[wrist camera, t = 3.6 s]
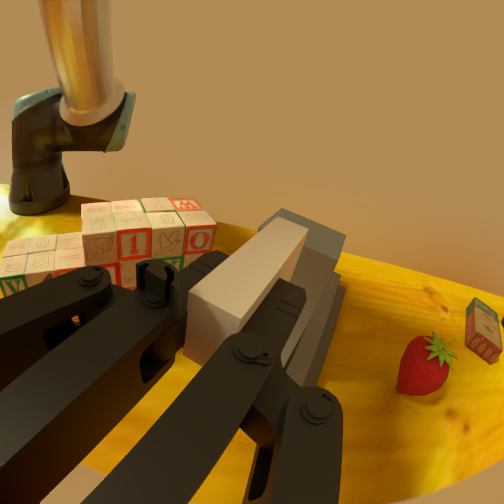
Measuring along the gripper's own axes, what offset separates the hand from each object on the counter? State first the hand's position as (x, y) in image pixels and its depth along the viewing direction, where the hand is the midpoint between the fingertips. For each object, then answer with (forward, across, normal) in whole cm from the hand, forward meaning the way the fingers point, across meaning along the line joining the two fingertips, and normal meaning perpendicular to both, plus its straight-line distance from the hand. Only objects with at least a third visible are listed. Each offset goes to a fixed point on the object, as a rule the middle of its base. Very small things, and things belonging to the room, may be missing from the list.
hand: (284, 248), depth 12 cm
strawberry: (+12, +18, -18) cm, 27 cm away
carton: (+34, +40, -18) cm, 55 cm away
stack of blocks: (+2, -17, -18) cm, 24 cm away
